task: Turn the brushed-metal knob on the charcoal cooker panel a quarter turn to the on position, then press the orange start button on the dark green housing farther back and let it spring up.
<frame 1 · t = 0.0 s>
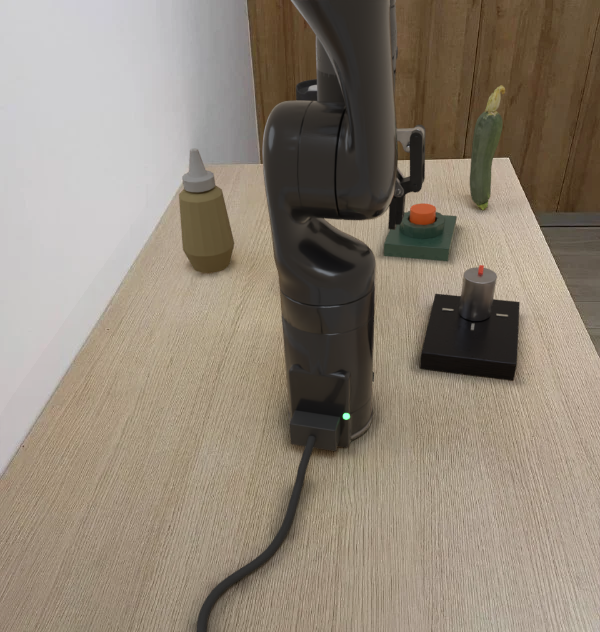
hand: (355, 223, 71), 17 cm above the table, tool pointing down, fingers open, 8 cm apart
vegetable: (477, 208, 113), on the table
button housing: (420, 241, 104), on the table
cooker knob: (477, 293, 81), point 5 cm above the table, hinge at 0.0°
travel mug: (321, 202, 118), on the table
squeeze bottle: (211, 266, 101), on the table
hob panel: (470, 342, 82), on the table
start button: (422, 214, 101), point 5 cm above the table, slide at 0.1 cm
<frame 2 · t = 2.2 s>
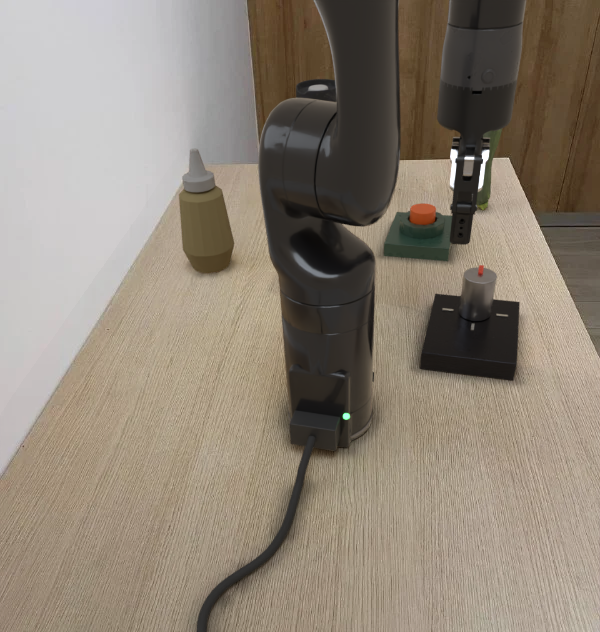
hand: (461, 225, 74), 15 cm above the table, tool pointing down, fingers open, 8 cm apart
nothing on the table moved.
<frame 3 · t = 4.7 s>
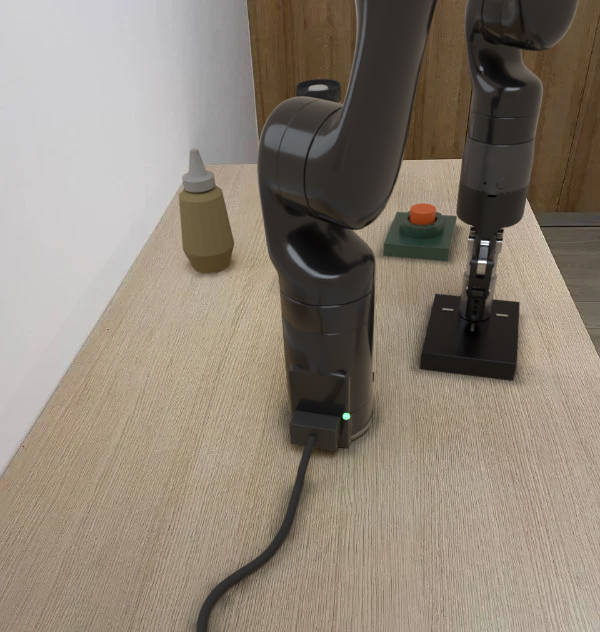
hand: (475, 308, 82), 3 cm above the table, tool pointing down, fingers closed on cooker knob, 4 cm apart
cooker knob: (477, 293, 81), point 5 cm above the table, hinge at -0.3°, touching gripper
everything else where it was.
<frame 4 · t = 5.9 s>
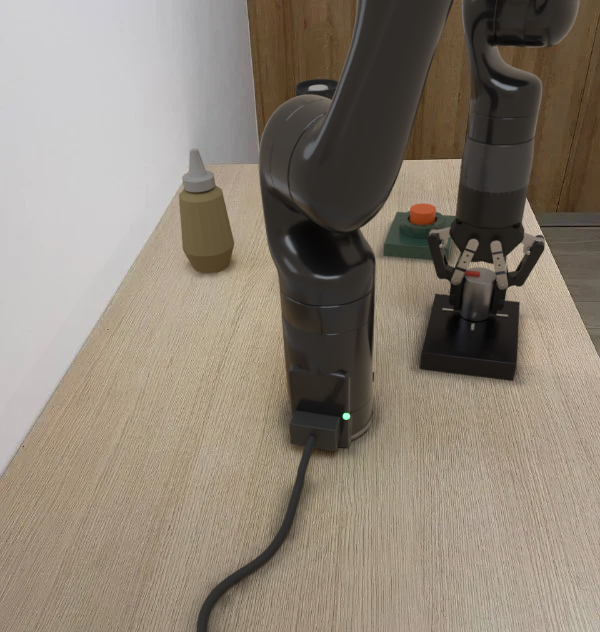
hand: (475, 308, 82), 3 cm above the table, tool pointing down, fingers closed on cooker knob, 4 cm apart
cooker knob: (477, 293, 81), point 5 cm above the table, hinge at 89.4°, touching gripper
everything else where it was.
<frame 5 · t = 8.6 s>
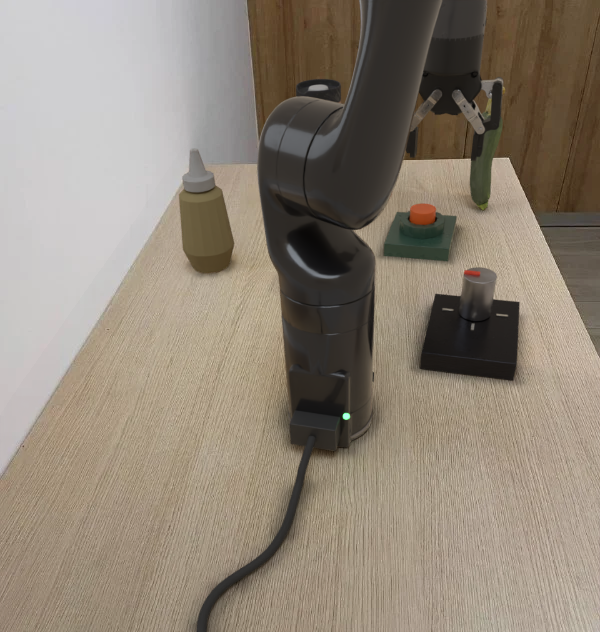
hand: (443, 157, 91), 15 cm above the table, tool pointing down, fingers open, 8 cm apart
cooker knob: (477, 293, 81), point 5 cm above the table, hinge at 88.8°
everything else where it was.
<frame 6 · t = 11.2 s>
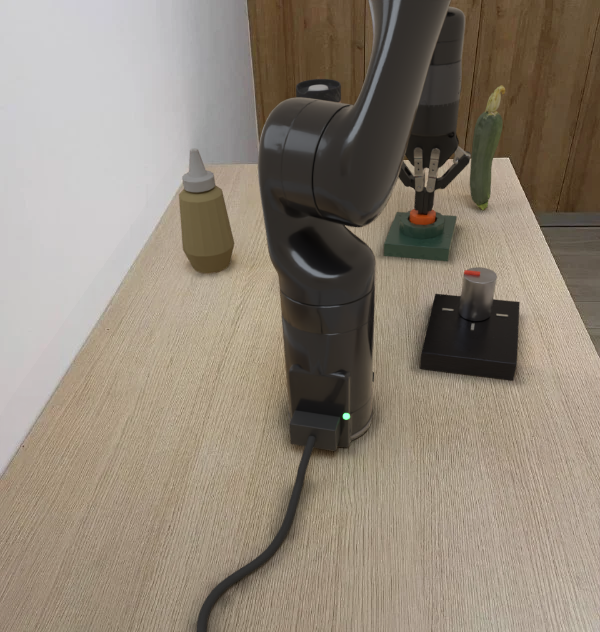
hand: (423, 212, 101), 5 cm above the table, tool pointing down, fingers closed
start button: (422, 218, 101), point 4 cm above the table, slide at -0.6 cm, touching gripper
everything else where it was.
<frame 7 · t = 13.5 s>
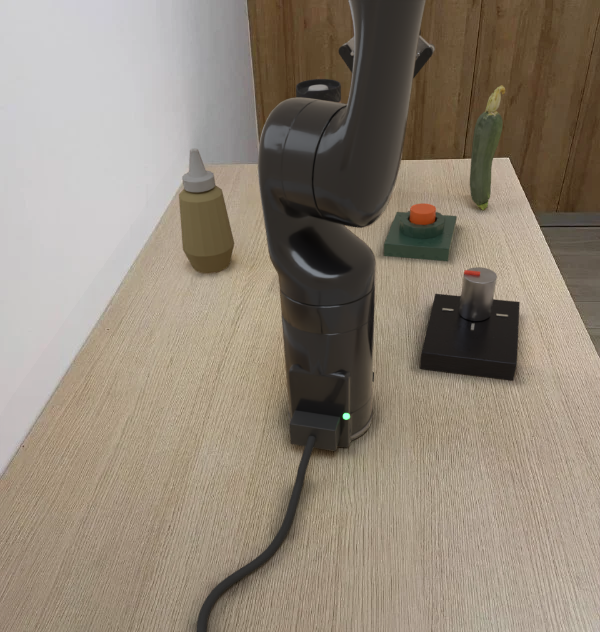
hand: (383, 120, 89), 20 cm above the table, tool pointing down, fingers closed
start button: (422, 214, 101), point 5 cm above the table, slide at 0.1 cm
everything else where it was.
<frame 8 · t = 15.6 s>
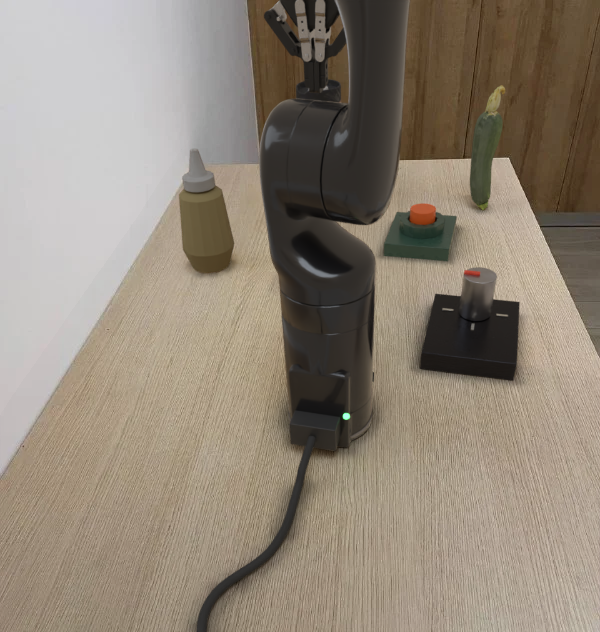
hand: (316, 91, 84), 25 cm above the table, tool pointing down, fingers closed
nothing on the table moved.
at the end: cooker knob at +89° (first picture: +0°); start button pushed in 1.1 cm at the most during the clip, back to where it started at the end; start button slide at 0.1 cm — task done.
